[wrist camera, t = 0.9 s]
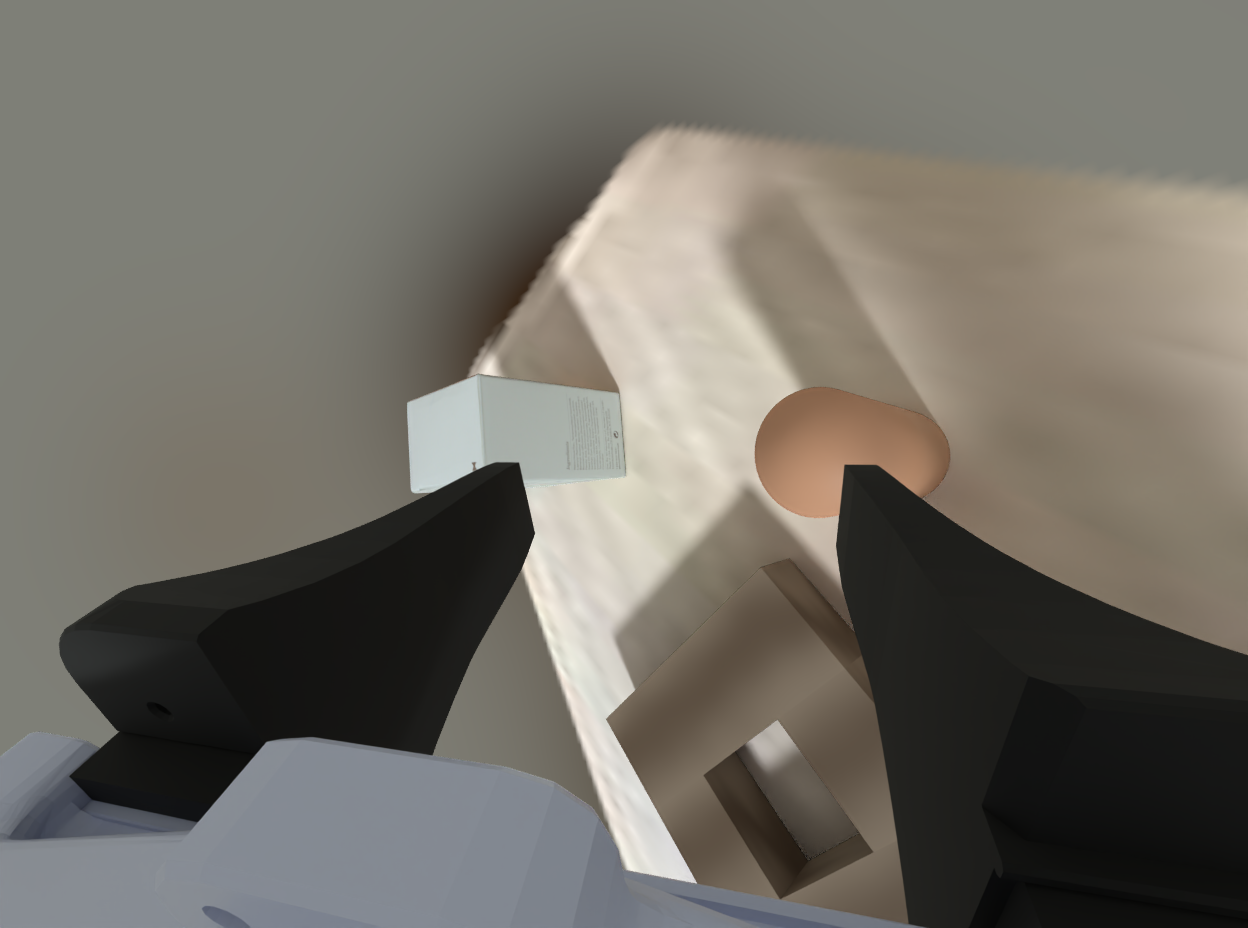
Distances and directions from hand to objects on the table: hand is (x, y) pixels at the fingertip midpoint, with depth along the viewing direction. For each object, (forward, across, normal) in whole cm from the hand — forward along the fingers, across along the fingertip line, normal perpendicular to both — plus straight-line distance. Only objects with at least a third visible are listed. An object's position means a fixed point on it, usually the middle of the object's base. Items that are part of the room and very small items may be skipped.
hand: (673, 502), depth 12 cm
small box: (+21, +9, +9) cm, 25 cm away
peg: (+12, -8, +5) cm, 15 cm away
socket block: (+6, -4, +20) cm, 21 cm away
